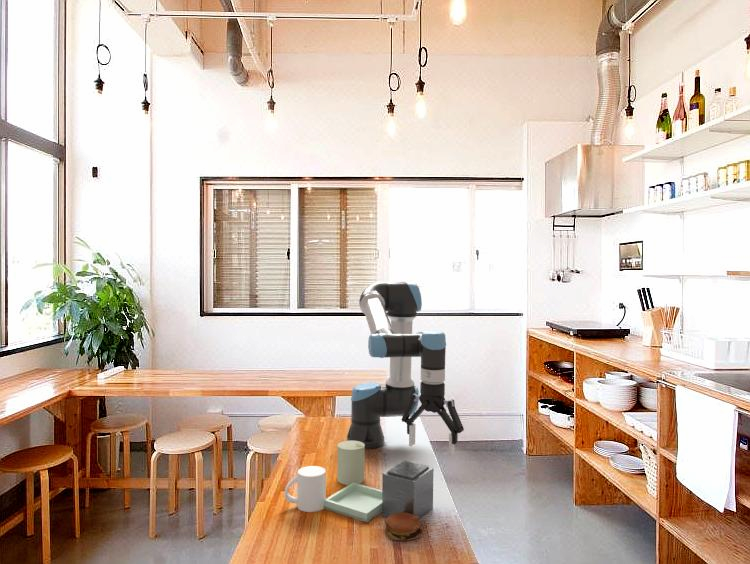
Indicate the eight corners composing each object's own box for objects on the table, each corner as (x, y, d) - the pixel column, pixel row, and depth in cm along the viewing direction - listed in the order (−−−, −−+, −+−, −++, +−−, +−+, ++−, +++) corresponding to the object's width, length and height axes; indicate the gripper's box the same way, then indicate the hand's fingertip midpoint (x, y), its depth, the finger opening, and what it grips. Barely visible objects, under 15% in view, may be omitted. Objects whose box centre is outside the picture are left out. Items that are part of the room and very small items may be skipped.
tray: (353, 490, 163) (353, 482, 163) (394, 502, 155) (394, 493, 155) (323, 508, 150) (323, 500, 150) (366, 522, 142) (366, 513, 142)
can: (361, 486, 166) (361, 449, 165) (333, 483, 168) (333, 447, 167) (367, 475, 175) (367, 440, 174) (340, 472, 177) (341, 438, 176)
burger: (377, 531, 138) (378, 514, 137) (405, 522, 143) (405, 505, 143) (400, 548, 130) (400, 529, 129) (428, 537, 135) (429, 520, 135)
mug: (326, 475, 148) (283, 477, 147) (326, 511, 148) (283, 513, 147) (325, 465, 156) (285, 466, 155) (325, 499, 156) (284, 500, 155)
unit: (403, 499, 156) (404, 458, 156) (433, 508, 151) (434, 465, 151) (382, 516, 146) (382, 471, 146) (413, 525, 141) (413, 479, 140)
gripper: (391, 378, 164) (390, 444, 165) (465, 390, 150) (464, 461, 151) (403, 374, 170) (402, 437, 171) (475, 384, 157) (473, 454, 157)
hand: (431, 449), depth 161 cm, fingers open, 13 cm apart
